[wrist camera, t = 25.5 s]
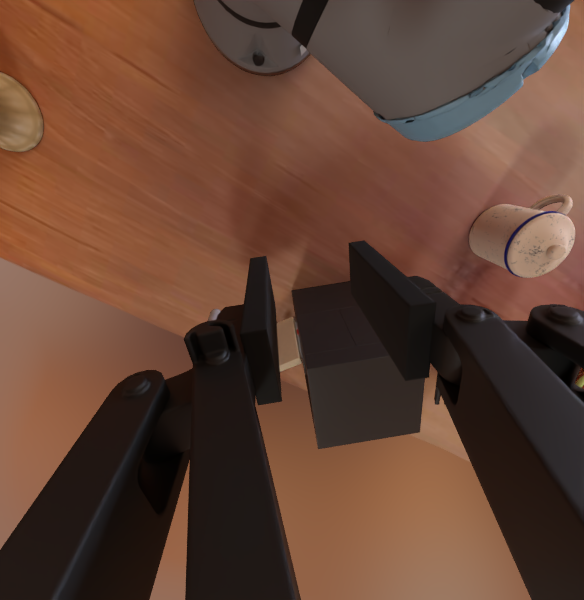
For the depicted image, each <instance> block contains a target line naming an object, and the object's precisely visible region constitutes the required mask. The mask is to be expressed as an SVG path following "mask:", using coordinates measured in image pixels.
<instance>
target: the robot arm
mask: <svg viewBox="0 0 584 600" xmlns="http://www.w3.org/2000/svg"><path fill="white" fill-rule="evenodd" d="M573 1H574V0H194V4H195V7H196V10H197V13H198V16H199V18H200V20H201V22H202V25H203V27H204V29H205V31H206V32H207V34H208V36H209V38H210V39H211V41H212V42H213V44H214V45H215V47H216V48H217V49H218V50H219V51H220V53H221V54H222V55H223V56H224V57H225V58H226V59H227V60H229V61H230V62H231V63H233V64H234V65H235V66H237V67H239V68H240V69H242V70H244V71H246V72H249V73H252V74H256V75H262V76H273V75H279V74H283V73H285V72H288V71H290V70H292V69H294V68H295V67H297V66H298V65H300V64H301V63H302V62H303V61H304V60H305V59H306V58H307V57H308V56H309V55H310V54H311V55H313V56H314V57H315V58H316V59H317V60H318V61H319V62H320V63H321V64H323V65H324V66H325V67H326V68H327V69H328V70H329V71H330V72H331V73H332V74H334V75H335V76H336V77H337V78H338V79H339V80H340V81H341V82H342V83H343V84H345V85H346V86H347V87H348V88H349V89H350V90H351V91H352V92H353V93H355V94H356V95H357V96H358V97H359V98H360V99H361V100H362V101H363V102H364V103H366V104H367V105H368V106H369V107H370V108H371V109H372V110H373V112H374V115H375V116H376V117H377V118H378V119H379V120H380V121H382V122H385V123H388V124H389V125H391V126H392V127H393V128H394V129H396V130H397V131H398V132H399V133H400V134H402V135H403V136H404V137H406V138H407V139H410V140H416V141H423V142H428V141H434V140H438V139H441V138H444V137H447V136H450V135H452V134H454V133H456V132H458V131H460V130H462V129H464V128H466V127H468V126H470V125H471V124H473V123H475V122H476V121H478V120H480V119H481V118H483V117H484V116H486V115H487V114H489V113H490V112H492V111H493V110H494V109H496V108H497V107H498V106H500V105H501V104H502V103H504V102H505V101H506V100H507V99H508V98H510V97H511V96H512V95H513V94H514V93H515V92H517V91H518V90H519V89H520V88H521V87H522V86H523V79H525V78H526V77H528V76H529V75H531V74H533V73H535V72H537V71H539V69H540V68H541V67H542V66H543V65H544V64H545V63H546V62H547V60H548V59H549V58H550V57H551V55H552V54H553V53H554V51H555V50H556V48H557V47H558V45H559V44H560V42H561V40H562V38H563V36H564V35H565V33H566V30H567V27H568V23H569V12H570V4H571V3H572V2H573ZM349 260H350V281H351V294H352V296H353V298H354V299H355V301H356V302H357V304H358V306H359V307H360V309H361V310H362V312H363V314H364V315H365V317H366V319H367V320H368V322H369V323H370V325H371V327H372V328H373V330H374V331H375V333H376V335H377V336H378V338H379V339H380V341H381V343H382V344H383V346H384V348H385V349H386V351H387V352H388V354H389V356H390V357H391V359H392V360H393V362H394V364H395V365H396V367H397V368H398V370H399V372H400V373H401V375H402V377H403V378H404V380H405V381H410V380H416V379H422V378H428V377H429V369H430V363H431V364H432V365H433V367H434V368H435V369H436V370H437V372H438V373H437V382H436V390H435V398H434V399H435V404H439V401H440V396H441V395H442V398H443V400H444V404H445V405H446V407H447V409H448V411H449V414H450V416H451V418H452V420H453V423H454V425H455V427H456V429H457V432H458V434H459V436H460V439H461V441H462V443H463V445H464V448H465V450H466V452H467V454H468V457H469V459H470V461H471V463H472V466H473V468H474V470H475V472H476V475H477V477H478V479H479V481H480V483H481V486H482V488H483V490H484V493H485V495H486V497H487V500H488V502H489V504H490V506H491V508H492V511H493V513H494V515H495V518H496V520H497V522H498V525H499V527H500V529H501V531H502V533H503V536H504V538H505V540H506V543H507V545H508V547H509V549H510V552H511V554H512V556H513V559H514V561H515V563H516V565H517V568H518V570H519V572H520V574H521V577H522V579H523V581H524V584H525V586H526V588H527V590H528V592H529V595H530V597H531V599H532V600H584V389H583V388H581V387H579V386H577V385H576V384H575V381H576V379H577V376H578V374H579V371H580V369H581V367H582V368H583V369H584V311H581V310H578V309H576V308H571V307H567V306H565V305H557V304H550V305H540V306H537V307H534V308H533V309H532V310H531V312H530V316H529V319H528V321H504V320H502V319H501V318H500V317H499V316H498V315H497V314H495V313H494V312H493V311H491V310H489V309H486V308H484V307H480V306H475V305H460V304H459V303H457V302H456V301H455V300H453V299H452V298H451V297H450V296H448V295H447V294H446V293H444V292H442V290H440V289H439V288H438V287H436V286H435V285H434V284H433V283H431V282H430V281H429V280H426V279H424V278H421V277H418V276H413V277H406V276H405V275H404V274H403V273H402V272H400V271H399V270H398V269H397V268H396V267H395V266H393V265H392V264H391V263H390V262H389V261H388V260H386V259H385V258H384V257H383V256H382V255H381V254H379V253H378V252H377V251H376V250H375V249H374V248H372V247H371V246H370V245H369V244H368V243H367V242H365V241H358V242H352V243H349ZM184 341H185V344H186V347H187V349H188V352H189V355H190V357H191V360H192V362H193V368H192V369H190V370H189V371H187V372H184V373H182V374H180V375H177V376H174V377H172V378H169V379H166V380H165V379H164V377H163V375H162V373H161V372H159V371H156V370H146V371H142V372H138V373H135V374H133V375H130V376H129V377H127V378H126V379H124V380H123V381H122V382H120V383H118V384H117V386H116V387H115V388H114V389H113V390H112V391H111V392H110V394H109V395H108V397H107V398H106V399H105V401H104V402H103V404H102V405H101V407H100V408H99V410H98V411H97V412H96V414H95V415H94V417H93V418H92V420H91V421H90V422H89V424H88V425H87V427H86V428H85V429H84V431H83V432H82V434H81V435H80V437H79V438H78V439H77V441H76V442H75V444H74V445H73V447H72V448H71V450H70V451H69V452H68V454H67V455H66V457H65V458H64V459H63V461H62V462H61V464H60V465H59V467H58V468H57V470H56V471H55V472H54V474H53V475H52V477H51V478H50V480H49V481H48V482H47V484H46V485H45V487H44V488H43V490H42V491H41V492H40V494H39V495H38V497H37V498H36V500H35V501H34V502H33V504H32V505H31V507H30V508H29V509H28V511H27V513H26V514H25V515H24V517H23V518H22V520H21V521H20V522H19V524H18V525H17V527H16V528H15V530H14V531H13V532H12V534H11V535H10V537H9V538H8V540H7V541H6V542H5V544H4V545H3V547H2V548H1V550H0V600H149V599H150V595H151V592H152V588H153V585H154V581H155V578H156V574H157V571H158V567H159V564H160V560H161V557H162V553H163V550H164V547H165V543H166V540H167V536H168V533H169V529H170V526H171V522H172V519H173V515H174V512H175V508H176V505H177V501H178V498H179V494H180V491H181V487H182V484H183V480H184V477H185V473H186V470H187V466H188V463H189V460H190V471H189V503H188V534H187V535H188V536H187V566H186V596H185V597H186V598H185V600H301V598H300V594H299V590H298V585H297V581H296V577H295V572H294V568H293V564H292V560H291V555H290V551H289V547H288V542H287V538H286V534H285V530H284V525H283V521H282V517H281V513H280V509H279V504H278V500H277V496H276V491H275V487H274V483H273V478H272V474H271V470H270V466H269V461H268V457H267V453H266V449H265V444H264V440H263V436H262V432H261V428H260V423H259V419H258V415H257V411H256V407H255V395H256V399H257V403H258V405H263V404H269V403H274V402H281V401H282V397H281V382H280V367H279V352H278V337H277V322H276V307H275V301H274V295H273V290H272V285H271V279H270V274H269V268H268V263H267V257H266V256H262V257H256V258H251V259H250V265H249V272H248V279H247V286H246V293H245V300H244V304H242V305H236V306H230V307H225V308H224V309H223V310H222V311H221V312H220V313H219V314H218V315H217V319H216V320H211V321H207V322H204V323H201V324H199V325H197V326H195V327H194V328H192V329H191V330H190V331H189V332H188V333H186V335H185V338H184Z"/></svg>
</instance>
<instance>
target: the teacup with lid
mask: <svg viewBox="0 0 584 600" xmlns="http://www.w3.org/2000/svg"><path fill="white" fill-rule="evenodd" d="M557 202H563V204H562V206H561V207H560V208H559V209H558V210H557V211H556V212H555V211H548V212H545V211H540V209H541V208H543V207H544V206H547V205H549V204H552V203H557ZM572 205H573V201H572V199H571V198H570V197H569V196H567V195H563V194H558V195H552V196H548V197H545V198H543V199H541V200H539V201H537V202H536V203H535V204H533V205H532V206H531V207H530V208H525V207H520V206H515V205H510V204H500V205H496V206H493V207H491V208H489V209H488V210H486V211H485V212H483V213H482V214H481V215H480V216H479V217H478V218H477V220H476V221H475V222H474V224H473V226H472V228H471V231H470V235H469V244H470V248H471V250H472V251H473V252H474V253H475V254H476V255H477V256H479V257H481V258H483V259H486V260H488V261H490V262H492V263H494V264H496V265H498V266H501V267H503V268H505V269H507V270H509V272H511V273H512V274H513V275H515V276H518V277H524V278H531V277H537V276H541V275H543V274H546V273H548V272H550V271H551V270H553V269H554V268H556V267H557V266H558V265H559V264H560V263H561V262H562V261H563V260H564V259H565V258H566V257H567V255H568V254H569V252H570V250H571V248H572V246H573V244H574V240H575V227H574V225H573V223H572V221H571V220H570V219H569V218H568V217H567V216H566V214H567V213H568V212H569V211H570V209H571V208H572Z"/></svg>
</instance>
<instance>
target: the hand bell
mask: <svg viewBox="0 0 584 600" xmlns="http://www.w3.org/2000/svg"><path fill="white" fill-rule="evenodd" d="M43 129H44V126H43V118H42V115H41V112H40V109H39V107H38V105H37V103H36V101H35V100H34V98H33V97H32V95H31V94H30V93H29V92H28V90H27V89H26V88H25V87H24V86H22V85H21V84H20V83H19V82H18V81H16V80H15V79H13V78H12V77H10V76H8V75H6V74H4V73H2V72H0V148H3V149H5V150H9V151H14V152H24V151H28V150H31V149H32V148H34V147H35V146H36V145H37V144H38V143H39V142H40V140H41V138H42V135H43Z"/></svg>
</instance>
